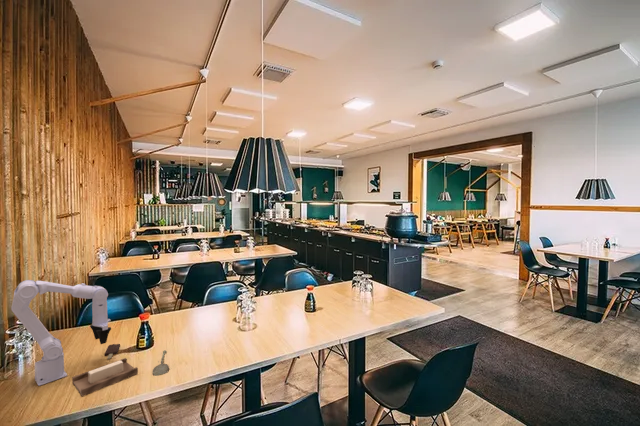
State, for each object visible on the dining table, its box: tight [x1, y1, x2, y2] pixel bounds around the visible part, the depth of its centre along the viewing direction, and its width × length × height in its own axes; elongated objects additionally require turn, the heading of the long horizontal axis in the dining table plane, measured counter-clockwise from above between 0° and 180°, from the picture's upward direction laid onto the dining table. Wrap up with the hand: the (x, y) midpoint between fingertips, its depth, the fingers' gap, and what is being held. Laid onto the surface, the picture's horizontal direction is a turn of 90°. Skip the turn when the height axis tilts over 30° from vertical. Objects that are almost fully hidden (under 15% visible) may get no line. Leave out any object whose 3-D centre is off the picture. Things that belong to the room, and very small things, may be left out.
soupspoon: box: [152, 349, 170, 377], centre depth 143 cm, size 22×3×7 cm
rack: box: [71, 357, 139, 397], centre depth 131 cm, size 20×14×3 cm
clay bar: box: [87, 359, 123, 384], centre depth 131 cm, size 12×3×4 cm, turn 141°
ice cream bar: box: [104, 343, 121, 360], centre depth 153 cm, size 5×2×15 cm
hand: (100, 340), depth 143 cm, fingers open, 7 cm apart
